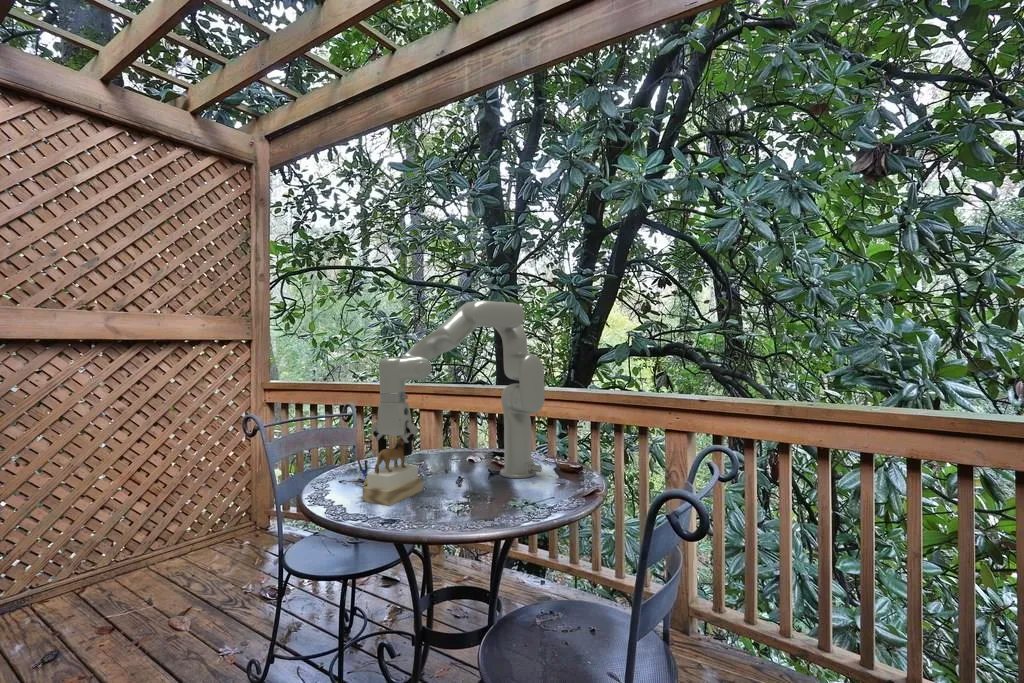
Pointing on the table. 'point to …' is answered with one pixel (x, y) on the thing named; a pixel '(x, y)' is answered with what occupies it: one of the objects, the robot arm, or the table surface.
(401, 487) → the oak base brick
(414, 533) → the table surface
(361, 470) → the figurine
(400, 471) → the cream brick
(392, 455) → the lion figurine
